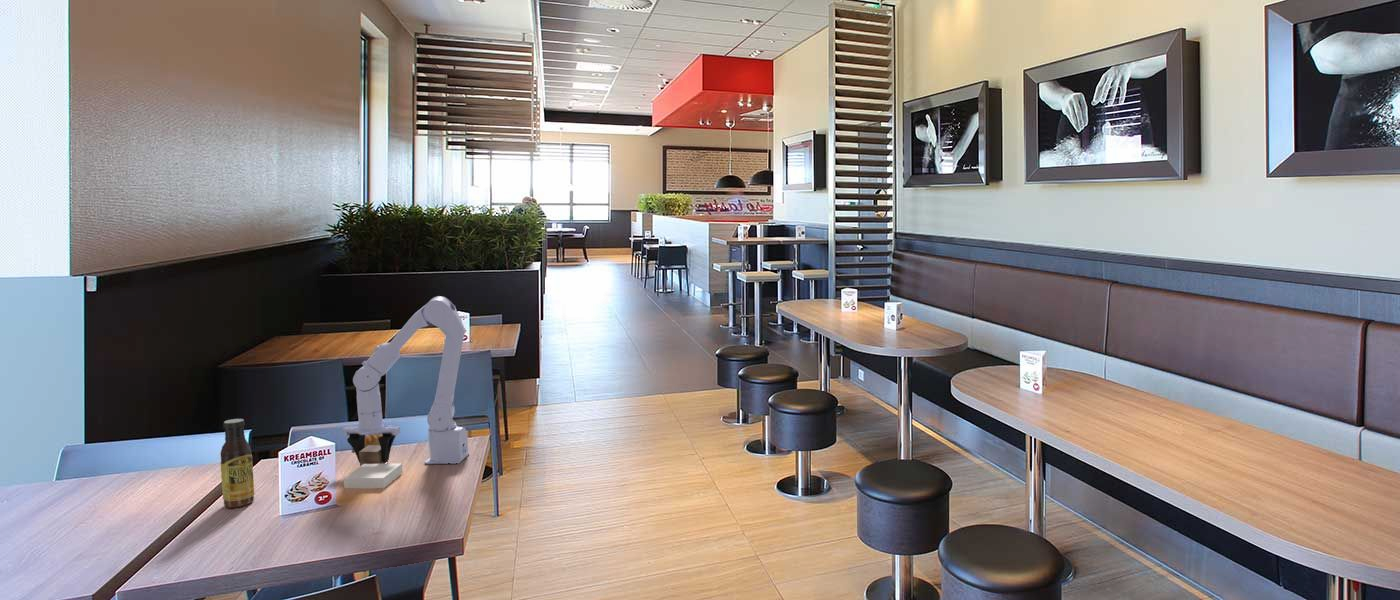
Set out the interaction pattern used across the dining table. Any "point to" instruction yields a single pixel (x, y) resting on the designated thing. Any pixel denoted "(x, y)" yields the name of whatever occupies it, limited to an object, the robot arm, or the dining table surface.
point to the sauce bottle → (236, 466)
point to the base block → (373, 476)
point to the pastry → (372, 440)
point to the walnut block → (371, 455)
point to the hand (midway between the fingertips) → (373, 461)
